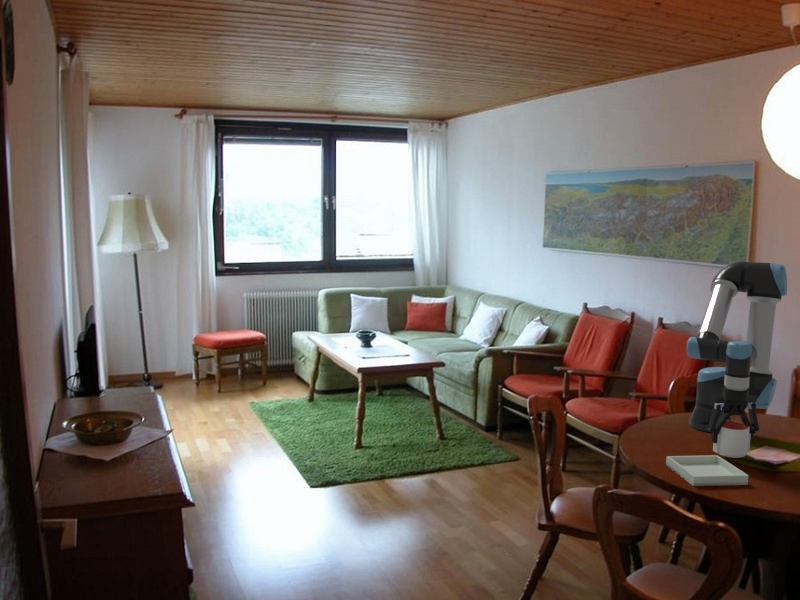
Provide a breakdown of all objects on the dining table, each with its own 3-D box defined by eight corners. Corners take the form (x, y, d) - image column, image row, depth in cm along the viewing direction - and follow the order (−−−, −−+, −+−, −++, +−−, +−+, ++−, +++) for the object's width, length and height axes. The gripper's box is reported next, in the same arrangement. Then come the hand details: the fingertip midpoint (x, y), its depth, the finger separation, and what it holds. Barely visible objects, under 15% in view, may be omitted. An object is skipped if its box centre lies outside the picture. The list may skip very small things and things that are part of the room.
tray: (716, 463, 236) (717, 455, 236) (747, 484, 219) (748, 475, 218) (665, 465, 234) (666, 456, 234) (693, 486, 217) (693, 476, 216)
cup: (745, 461, 234) (747, 432, 233) (712, 455, 240) (714, 426, 238) (748, 452, 243) (751, 423, 241) (717, 446, 248) (719, 418, 246)
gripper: (761, 383, 242) (755, 446, 246) (698, 385, 240) (693, 448, 244) (774, 389, 235) (769, 454, 238) (709, 391, 233) (705, 456, 236)
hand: (731, 451), depth 241 cm, fingers closed on cup, 10 cm apart
